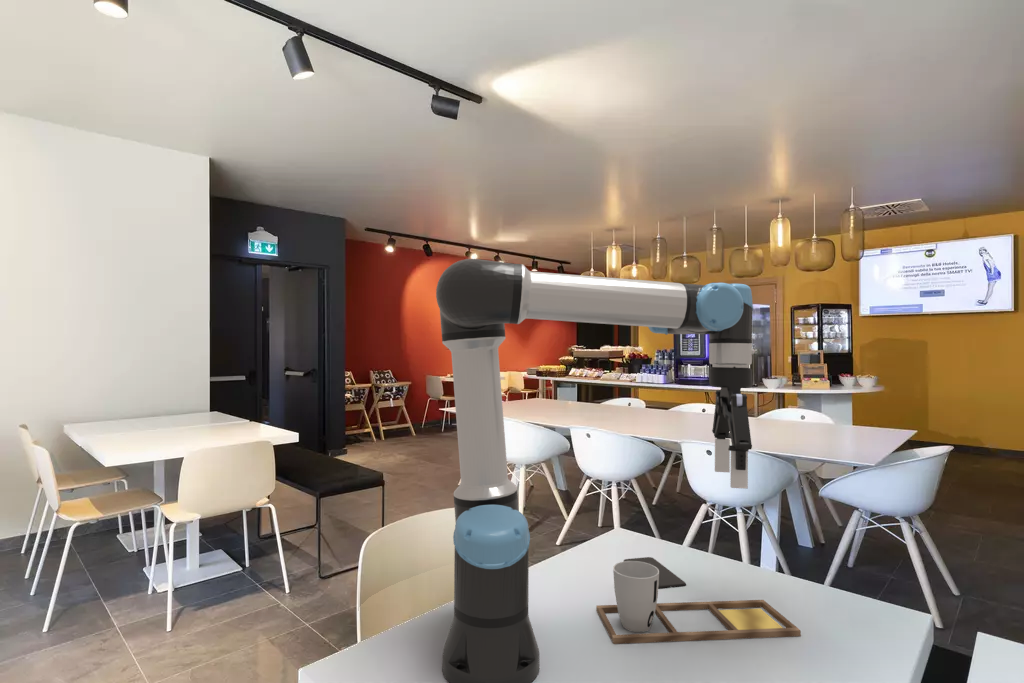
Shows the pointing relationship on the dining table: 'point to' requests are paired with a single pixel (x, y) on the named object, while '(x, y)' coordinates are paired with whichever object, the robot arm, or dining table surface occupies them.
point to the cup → (636, 594)
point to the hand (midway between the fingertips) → (730, 479)
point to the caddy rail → (734, 620)
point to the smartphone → (662, 574)
